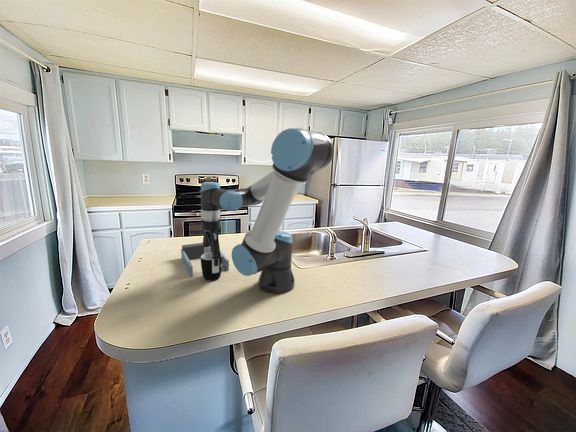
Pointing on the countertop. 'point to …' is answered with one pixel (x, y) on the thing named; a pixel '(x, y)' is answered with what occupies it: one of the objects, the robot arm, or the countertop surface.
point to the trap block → (194, 250)
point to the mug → (210, 267)
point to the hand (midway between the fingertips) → (211, 266)
